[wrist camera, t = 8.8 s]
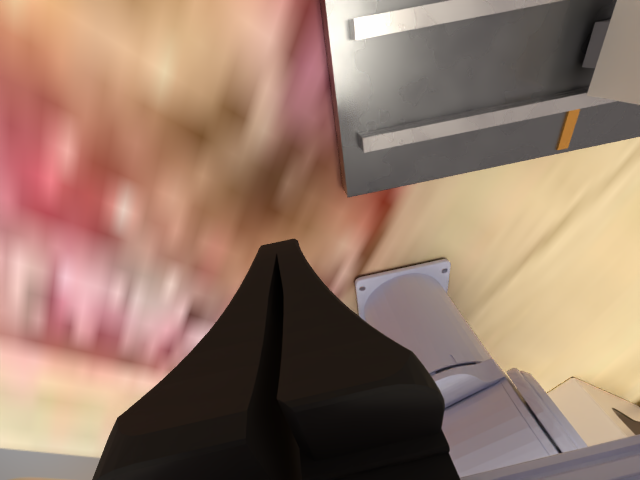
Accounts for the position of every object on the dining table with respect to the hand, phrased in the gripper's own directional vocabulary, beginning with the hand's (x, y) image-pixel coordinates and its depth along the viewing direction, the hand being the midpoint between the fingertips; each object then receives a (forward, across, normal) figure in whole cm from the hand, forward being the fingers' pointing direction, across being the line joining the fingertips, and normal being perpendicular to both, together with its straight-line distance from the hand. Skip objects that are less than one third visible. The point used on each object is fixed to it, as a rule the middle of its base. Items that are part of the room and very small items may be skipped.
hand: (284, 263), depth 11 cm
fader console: (+9, -16, -4) cm, 19 cm away
